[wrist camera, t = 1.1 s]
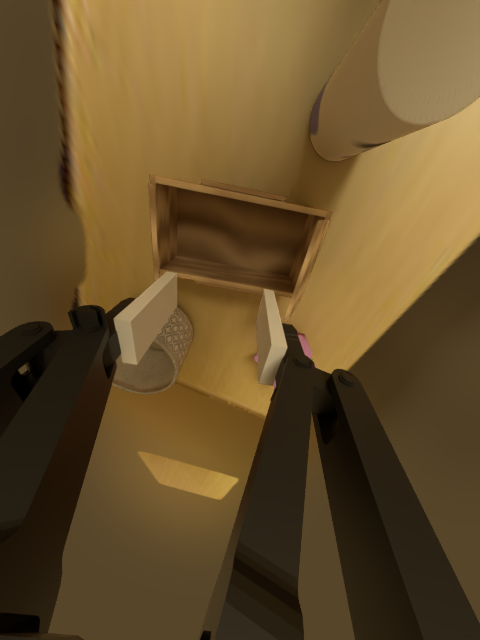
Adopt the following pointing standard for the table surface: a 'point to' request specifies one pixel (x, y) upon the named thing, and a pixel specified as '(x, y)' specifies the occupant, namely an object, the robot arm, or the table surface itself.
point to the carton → (232, 235)
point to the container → (399, 76)
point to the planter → (158, 359)
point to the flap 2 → (308, 265)
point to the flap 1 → (153, 230)
